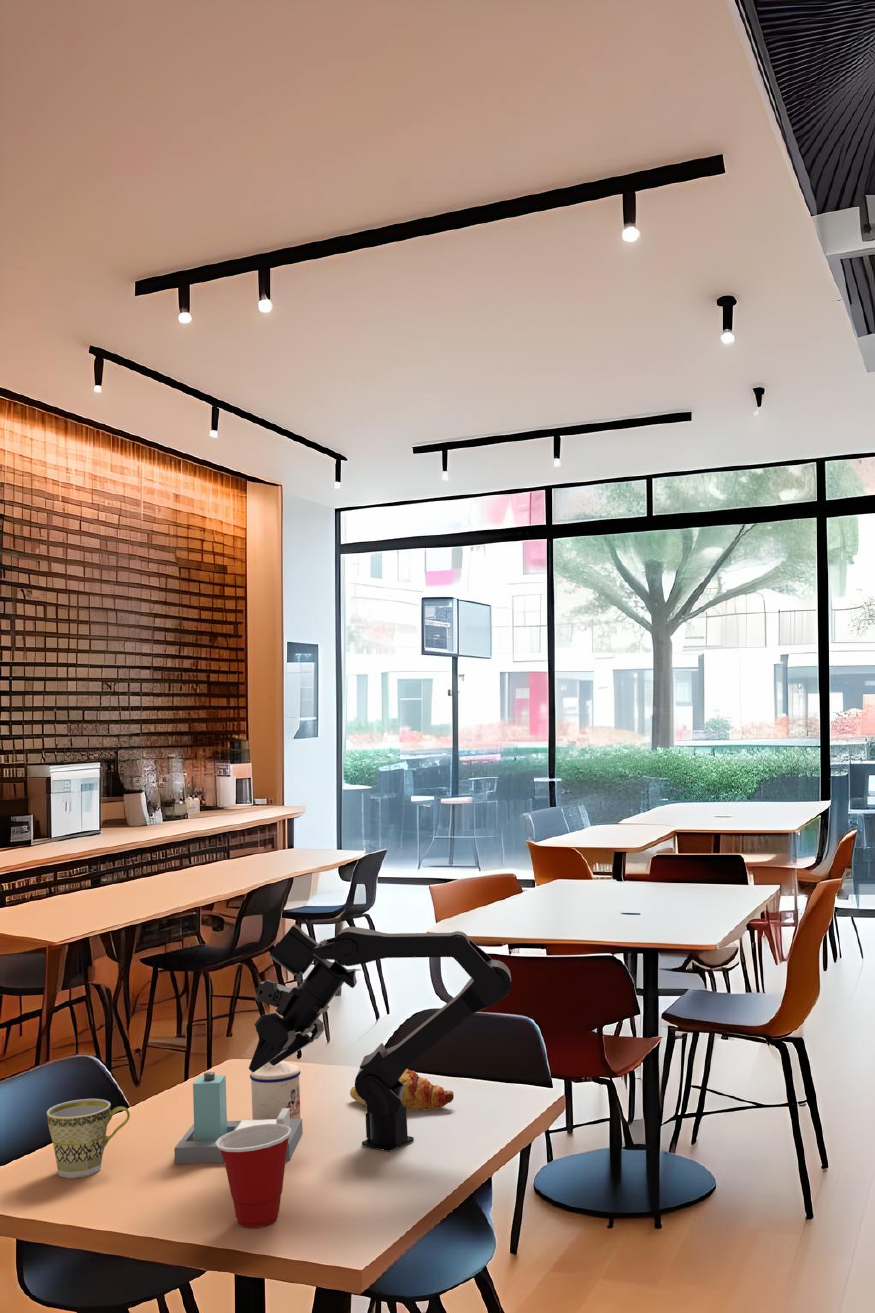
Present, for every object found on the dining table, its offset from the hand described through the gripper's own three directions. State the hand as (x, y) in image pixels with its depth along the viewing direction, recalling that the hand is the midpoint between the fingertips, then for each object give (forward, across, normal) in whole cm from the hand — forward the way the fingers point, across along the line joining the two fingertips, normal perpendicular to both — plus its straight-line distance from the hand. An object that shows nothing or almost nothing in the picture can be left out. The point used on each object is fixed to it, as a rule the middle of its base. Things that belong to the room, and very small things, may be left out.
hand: (261, 1067), depth 193 cm
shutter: (+8, -2, +6) cm, 11 cm away
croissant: (-3, -26, +20) cm, 33 cm away
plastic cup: (+7, +26, +19) cm, 33 cm away
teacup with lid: (+11, -16, +4) cm, 20 cm away
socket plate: (+13, -1, +5) cm, 14 cm away
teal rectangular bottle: (+16, 0, +1) cm, 16 cm away
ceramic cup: (+28, +11, -10) cm, 31 cm away
